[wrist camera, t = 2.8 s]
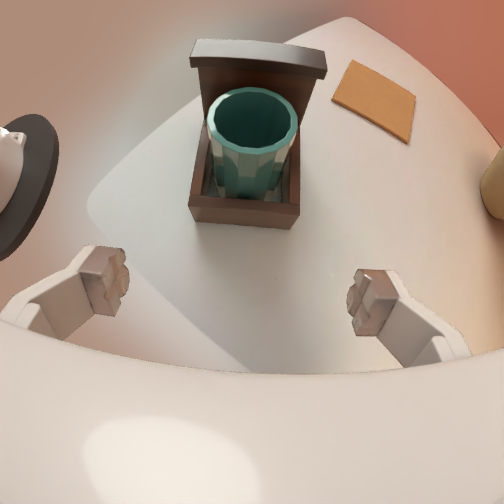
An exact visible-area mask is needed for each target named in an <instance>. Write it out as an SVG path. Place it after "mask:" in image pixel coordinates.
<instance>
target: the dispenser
mask: <svg viewBox="0 0 504 504" xmlns="http://www.w3.org/2000/svg"><path fill="white" fill-rule="evenodd" d="M189 58H190V65H191V68H195V67H197V68H198V73H199V80H200V89H201V97H202V105H203V112H204V121H203V127H202V131H201V136H200V141H199V146H198V151H197V156H196V161H195V167H194V172H193V178H192V184H191V190H190V196H189V202H188V207H189V209H190V211H191V214H192V216H193V218H194V220H195V221H196V222H209V223H222V224H234V225H246V226H257V227H268V228H279V229H289V230H290V228H291V227H292V226H293V224H294V223H295V221H296V220H297V218H298V217H299V216H300V125H301V122H302V119H303V116H304V114H305V111H306V108H307V105H308V102H309V100H310V97H311V94H312V91H313V88H314V86H315V83H316V80H317V79H321V80H324V78H325V76H326V73H327V71H328V70H327V64H326V58H325V53H324V51H321V50H316V49H311V48H306V47H300V46H294V45H287V44H280V43H272V42H262V41H250V40H233V39H197V40H196V42H195V45H194V47H193V50H192V52H191V55H190V57H189ZM244 87H254V88H264V89H267V90H269V91H272V92H274V93H277V94H279V95H281V96H282V97H283V98H284V99H285V100H287V101H288V102H289V103H290V104H291V105H292V107H293V109H294V111H295V113H296V115H297V122H298V129H297V132H296V135H295V138H294V141H293V144H292V147H291V150H290V152H289V155H288V158H287V161H286V164H285V167H284V169H283V176H282V202H281V203H277V202H267V201H257V200H246V199H234V198H221V197H208V192H209V185H210V178H211V171H212V158H211V151H210V144H209V136H208V129H207V116H208V112H209V108H210V107H211V105H212V104H213V103H214V102H215V101H216V99H217V98H218V97H220V96H221V95H223V94H225V93H227V92H229V91H231V90H234V89H239V88H244Z"/></svg>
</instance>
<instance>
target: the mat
mask: <svg viewBox="0 0 504 504" xmlns="http://www.w3.org/2000/svg"><path fill="white" fill-rule="evenodd" d="M415 99H416V96H415V95H413V94H412V93H410V92H409V91H407V90H406V89H404V88H402V87H401V86H399V85H398V84H396V83H394V82H393V81H391V80H389V79H388V78H386V77H384V76H382V75H381V74H379V73H377V72H375V71H373V70H372V69H370V68H368V67H366V66H364V65H362V64H360V63H358V62H356V61H354V60H352V61H351V63H350V65H349V67H348V69H347V70H346V72H345V74H344V76H343V78H342V80H341V82H340V84H339V86H338V88H337V90H336V92H335V94H334V96H333V98H332V101H334V102H336V103H338V104H340V105H342V106H344V107H346V108H348V109H350V110H351V111H353V112H355V113H357V114H359V115H361V116H362V117H364V118H366V119H368V120H370V121H371V122H373V123H375V124H376V125H378V126H380V127H381V128H383V129H385V130H386V131H388V132H389V133H391V134H393V135H394V136H396V137H397V138H399V139H400V140H402V141H403V142H405V143H406V144H407V143H408V141H409V136H410V131H411V125H412V119H413V113H414V106H415Z"/></svg>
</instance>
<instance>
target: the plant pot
mask: <svg viewBox="0 0 504 504" xmlns="http://www.w3.org/2000/svg"><path fill="white" fill-rule="evenodd" d="M480 192H481V196H482V199H483V202H484V204H485V206H486V208H487V210H488V211H489V213H490V214H491V215H492V216H493V217H494V218H496V219H502V220H504V146H503V147H502V148H501V150H500V151H499V153H498V154H497V156H496V157H495V158H494V160H493V161H492V163H491V165H490V166H489V168H488V169H487V171H486V173H485V174H484V176H483V178H482V180H481V182H480Z"/></svg>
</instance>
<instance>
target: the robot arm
mask: <svg viewBox="0 0 504 504" xmlns="http://www.w3.org/2000/svg"><path fill="white" fill-rule="evenodd" d="M26 138H27V136H26V135H25V134H24V133H21V132H8V131H7V130H6V129H3V128H2V127H1V126H0V213H1V212H2V211H3V209H4V208H5V207H6V205H7V204H8V202H9V200H10V199H11V197H12V195H13V193H14V191H15V189H16V187H17V184H18V181H19V179H20V176H21V172H22V167H23V149H24V145H25V142H26ZM125 260H126V256H125V252H124V250H123V249H122V248H113V247H105V246H96V245H85V246H84V247H83V248H82V249H81V251H80V252H79V253H78V254H77V255H76V257H75V258H74V259H73V260H72V262H71V263H70V264H69V265H68V267H67V268H66V269H65V270H60V271H58V272H56V273H54V274H52V275H51V276H48V277H47V278H45V279H43V280H41V281H39V282H37V283H35V284H34V285H32V286H30V287H28V288H26V289H25V290H23V291H21V292H19V293H18V294H16V295H14V296H13V297H12V298H11V299H10V301H9V302H8V304H7V305H6V306H5V308H4V309H3V311H2V312H1V314H0V504H504V348H501V349H497V350H494V351H490V352H486V353H482V354H478V355H474V356H473V355H472V353H471V351H470V349H469V347H468V345H467V343H466V341H465V339H464V338H463V336H462V334H461V332H459V331H458V330H457V329H455V328H454V327H453V326H452V325H450V324H449V323H448V322H446V321H445V320H444V319H442V318H441V317H440V316H438V315H437V314H436V313H434V312H433V311H432V310H430V309H429V308H428V307H426V306H425V305H424V304H422V303H421V302H420V301H418V300H417V299H413V298H412V296H411V295H410V293H409V291H408V289H407V288H406V286H405V284H404V283H403V281H402V279H401V278H400V276H399V274H398V273H397V272H396V271H395V270H370V269H358V270H357V271H356V273H355V276H354V280H355V284H354V285H353V286H351V287H350V289H349V291H348V294H347V302H346V303H347V309H348V313H349V314H350V315H351V316H353V317H354V318H353V320H352V325H353V328H354V331H355V334H356V336H377V338H378V339H379V341H380V342H381V343H382V344H383V345H384V346H385V347H386V348H387V349H388V350H389V351H390V353H391V354H392V355H393V356H394V357H395V358H396V359H397V360H398V361H399V363H400V364H401V365H402V366H403V367H404V368H400V369H391V370H381V371H370V372H357V373H339V374H262V373H242V372H230V371H219V370H208V369H199V368H191V367H184V366H176V365H170V364H163V363H157V362H151V361H145V360H139V359H135V358H129V357H125V356H120V355H115V354H111V353H106V352H102V351H98V350H94V349H90V348H86V347H83V346H79V345H75V344H72V343H68V342H65V341H63V340H64V339H65V338H67V337H68V336H69V335H70V334H71V333H73V332H74V331H75V330H76V329H77V328H78V327H80V326H81V325H82V324H83V323H85V322H86V321H87V320H88V319H90V318H91V317H92V316H93V315H94V314H100V315H107V316H113V317H115V315H116V313H117V311H118V309H119V306H120V305H121V301H120V298H121V297H123V296H124V295H125V294H126V292H127V290H128V287H129V271H128V269H127V267H126V266H125V265H124V264H123V263H124V262H125Z"/></svg>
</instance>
